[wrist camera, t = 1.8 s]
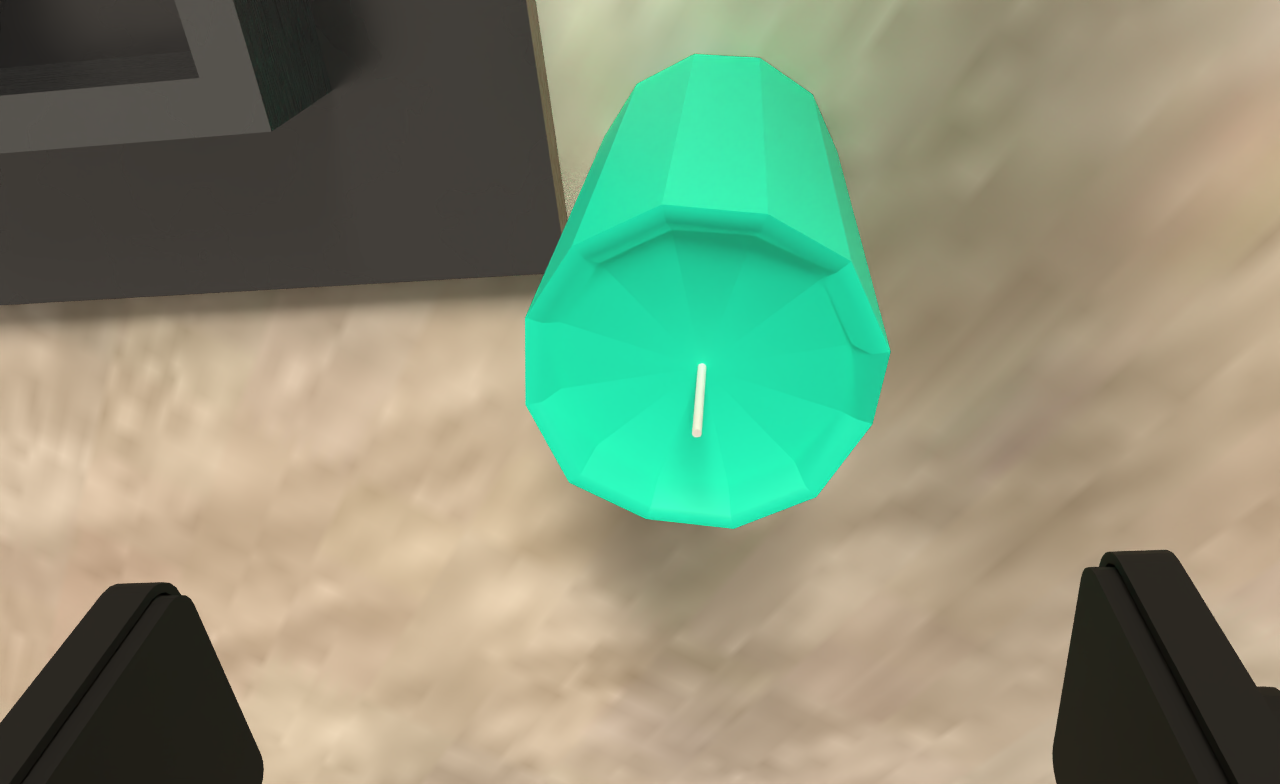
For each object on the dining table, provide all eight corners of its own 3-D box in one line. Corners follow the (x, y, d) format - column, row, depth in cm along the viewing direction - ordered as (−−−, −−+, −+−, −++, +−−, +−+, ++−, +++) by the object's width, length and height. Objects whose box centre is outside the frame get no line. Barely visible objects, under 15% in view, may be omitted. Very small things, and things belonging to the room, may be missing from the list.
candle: (705, 323, 27) (679, 641, 17) (551, 163, 25) (415, 409, 15) (886, 185, 24) (988, 457, 14) (731, -5, 22) (719, 149, 12)
